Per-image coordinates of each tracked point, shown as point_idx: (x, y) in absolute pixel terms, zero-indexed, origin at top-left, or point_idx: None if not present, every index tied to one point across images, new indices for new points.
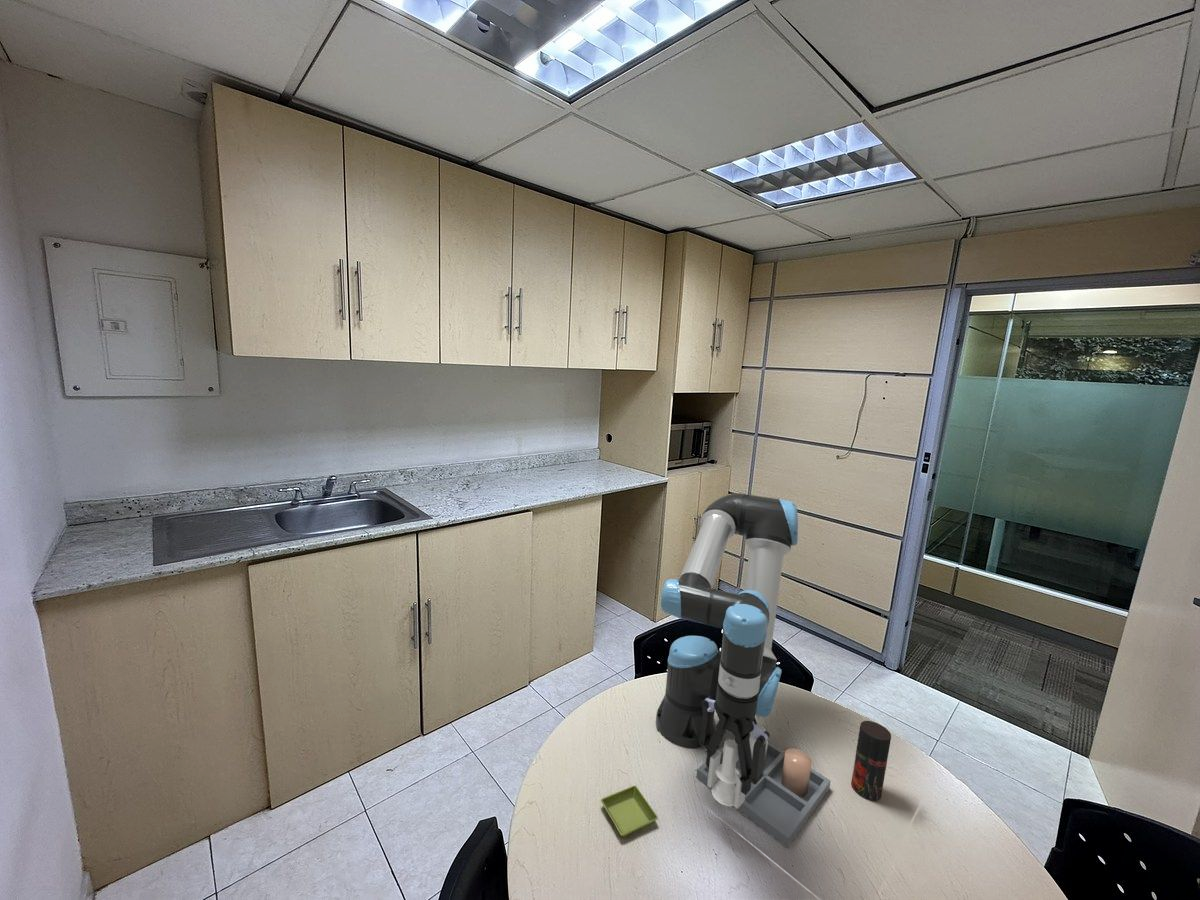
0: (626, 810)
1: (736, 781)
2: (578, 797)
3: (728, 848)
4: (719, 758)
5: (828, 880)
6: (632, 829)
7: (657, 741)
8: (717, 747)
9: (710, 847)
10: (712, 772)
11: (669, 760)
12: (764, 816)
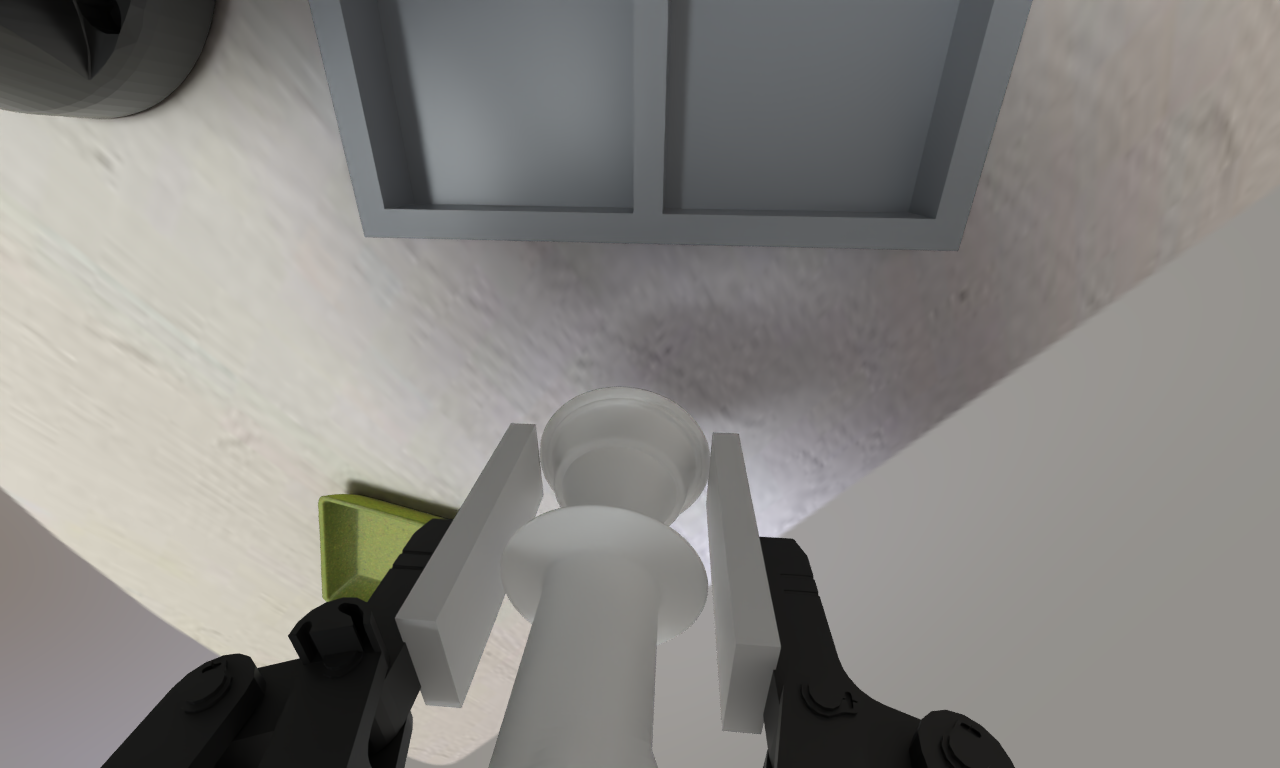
0: (392, 545)
1: (696, 606)
2: (286, 596)
3: (711, 422)
4: (465, 580)
5: (1140, 235)
6: None
7: (100, 171)
8: (377, 701)
9: None
10: None
11: (246, 234)
12: (801, 224)
